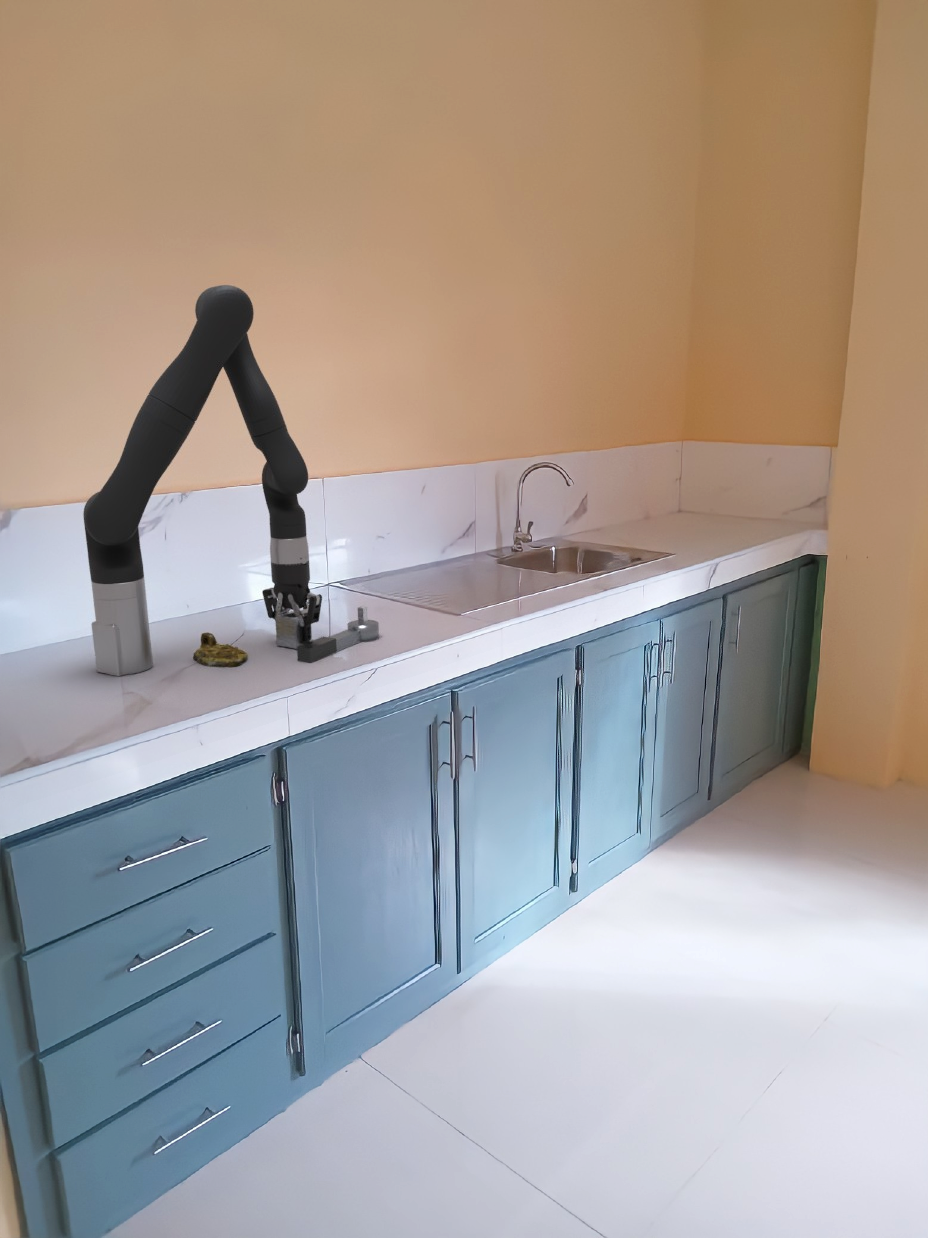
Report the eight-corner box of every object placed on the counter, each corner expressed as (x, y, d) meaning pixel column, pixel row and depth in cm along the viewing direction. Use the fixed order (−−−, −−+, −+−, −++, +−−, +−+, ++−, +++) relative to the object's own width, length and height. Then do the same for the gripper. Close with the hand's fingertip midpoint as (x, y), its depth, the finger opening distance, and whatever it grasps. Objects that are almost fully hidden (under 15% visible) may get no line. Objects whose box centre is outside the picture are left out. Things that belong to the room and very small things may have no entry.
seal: (261, 668, 181) (222, 651, 192) (262, 644, 180) (223, 628, 191) (217, 673, 175) (179, 655, 185) (218, 648, 174) (180, 632, 185)
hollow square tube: (296, 648, 188) (294, 619, 186) (276, 645, 190) (275, 616, 189) (312, 642, 192) (310, 614, 190) (293, 639, 194) (291, 611, 193)
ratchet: (360, 631, 200) (359, 602, 198) (385, 635, 197) (384, 605, 195) (291, 659, 182) (289, 626, 180) (317, 664, 178) (315, 631, 177)
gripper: (249, 558, 187) (255, 641, 191) (305, 565, 180) (310, 650, 184) (275, 552, 193) (279, 632, 198) (330, 558, 186) (334, 641, 191)
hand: (294, 640), depth 191 cm, fingers closed on hollow square tube, 5 cm apart
